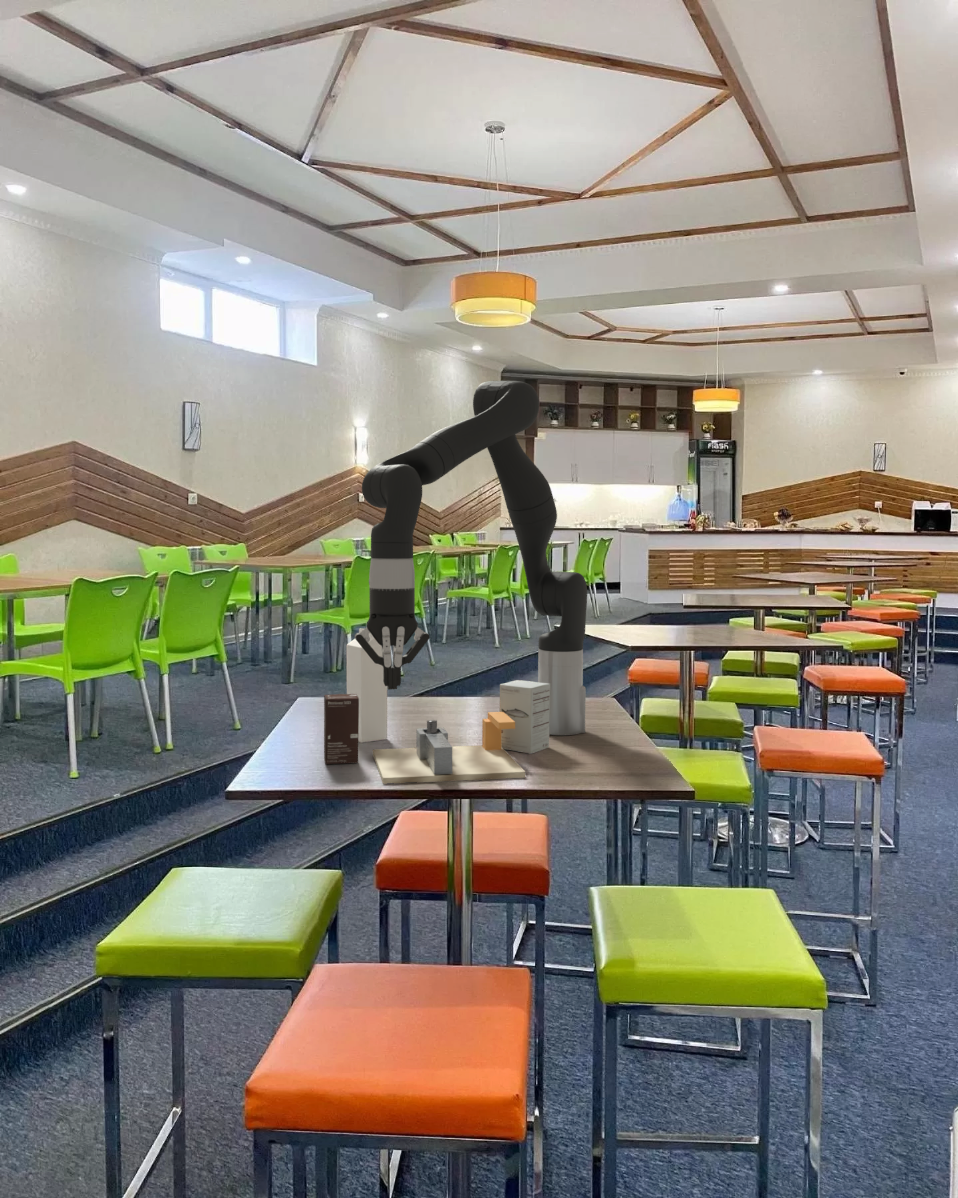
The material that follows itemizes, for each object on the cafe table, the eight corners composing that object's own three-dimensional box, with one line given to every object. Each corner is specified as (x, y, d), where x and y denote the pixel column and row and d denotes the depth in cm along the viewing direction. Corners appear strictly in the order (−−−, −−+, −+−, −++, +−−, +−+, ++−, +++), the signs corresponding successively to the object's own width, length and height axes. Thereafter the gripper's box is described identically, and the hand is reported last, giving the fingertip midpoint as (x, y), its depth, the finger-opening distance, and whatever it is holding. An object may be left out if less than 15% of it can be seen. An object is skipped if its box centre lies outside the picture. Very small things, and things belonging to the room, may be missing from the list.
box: (325, 765, 169) (325, 698, 168) (323, 760, 173) (323, 694, 172) (359, 764, 170) (359, 697, 169) (357, 758, 174) (356, 693, 173)
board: (499, 749, 182) (499, 744, 181) (525, 777, 161) (525, 771, 161) (372, 754, 177) (372, 749, 177) (383, 784, 156) (383, 778, 156)
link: (416, 753, 173) (416, 728, 173) (443, 752, 174) (443, 727, 174) (428, 774, 158) (428, 748, 157) (458, 773, 159) (458, 746, 158)
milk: (361, 743, 187) (360, 631, 185) (346, 738, 192) (345, 628, 190) (388, 739, 191) (387, 629, 189) (372, 734, 196) (371, 627, 194)
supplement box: (497, 749, 182) (497, 683, 181) (518, 742, 188) (518, 679, 187) (530, 754, 178) (531, 687, 177) (550, 747, 184) (551, 682, 183)
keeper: (503, 751, 181) (503, 711, 180) (514, 763, 171) (515, 722, 170) (482, 751, 180) (482, 712, 179) (493, 764, 170) (493, 722, 170)
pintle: (442, 758, 174) (442, 718, 174) (445, 764, 170) (445, 722, 169) (418, 759, 173) (418, 719, 173) (421, 765, 169) (421, 723, 168)
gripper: (353, 587, 154) (353, 693, 155) (434, 586, 157) (434, 691, 158) (350, 584, 161) (351, 686, 163) (428, 584, 164) (428, 684, 165)
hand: (392, 688), depth 160 cm, fingers closed
